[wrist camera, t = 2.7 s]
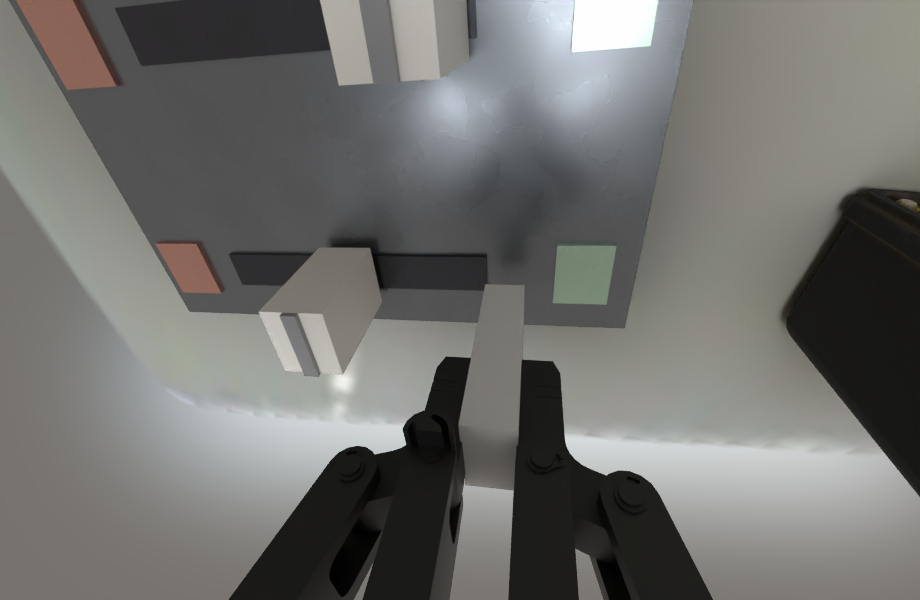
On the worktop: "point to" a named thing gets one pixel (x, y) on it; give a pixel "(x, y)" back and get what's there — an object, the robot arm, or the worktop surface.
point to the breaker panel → (379, 148)
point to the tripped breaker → (323, 311)
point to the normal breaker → (396, 39)
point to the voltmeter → (871, 322)
